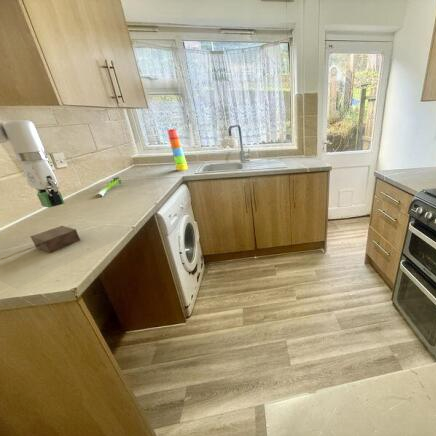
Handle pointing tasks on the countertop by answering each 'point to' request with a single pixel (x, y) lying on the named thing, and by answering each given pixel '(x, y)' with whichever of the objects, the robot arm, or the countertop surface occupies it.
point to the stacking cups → (177, 150)
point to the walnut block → (55, 238)
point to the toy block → (47, 199)
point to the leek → (109, 186)
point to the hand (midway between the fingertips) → (53, 203)
